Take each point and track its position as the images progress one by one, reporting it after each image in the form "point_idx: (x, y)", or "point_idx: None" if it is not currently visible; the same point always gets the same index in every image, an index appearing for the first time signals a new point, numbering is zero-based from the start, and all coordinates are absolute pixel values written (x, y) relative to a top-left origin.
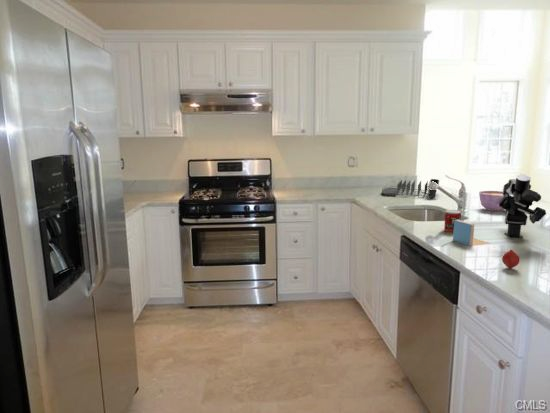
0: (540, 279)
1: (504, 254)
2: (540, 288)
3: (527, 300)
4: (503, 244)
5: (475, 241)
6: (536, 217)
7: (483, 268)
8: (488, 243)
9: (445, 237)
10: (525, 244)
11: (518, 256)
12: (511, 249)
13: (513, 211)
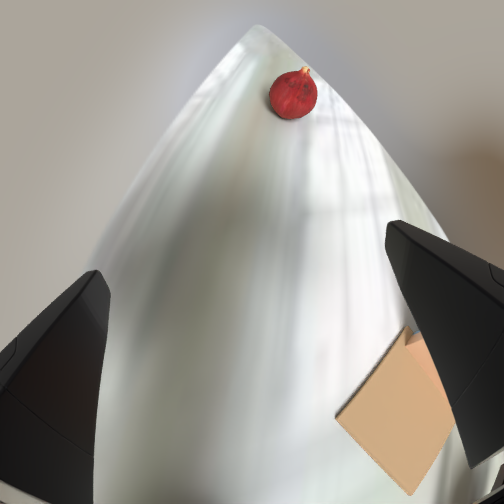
0: (224, 70)
1: (316, 88)
2: (240, 50)
3: (271, 37)
4: (266, 439)
5: (397, 419)
6: (25, 336)
7: (341, 123)
8: (347, 408)
9: None
10: (126, 476)
11: (279, 76)
12: (307, 67)
13: (421, 230)
